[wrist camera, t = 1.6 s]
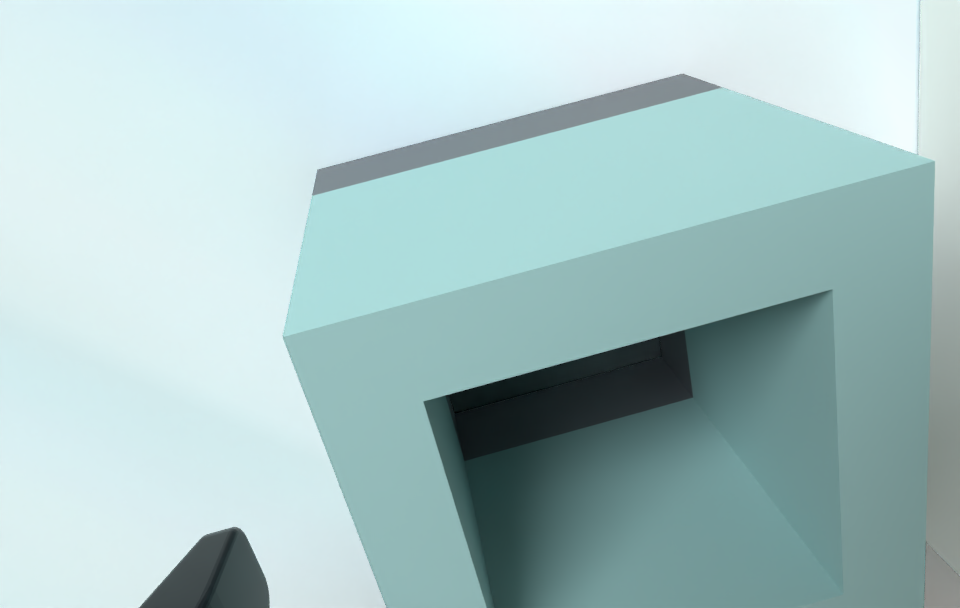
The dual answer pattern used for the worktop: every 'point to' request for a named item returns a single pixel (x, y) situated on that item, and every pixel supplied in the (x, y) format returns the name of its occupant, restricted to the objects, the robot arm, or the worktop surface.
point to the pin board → (943, 268)
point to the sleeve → (636, 388)
